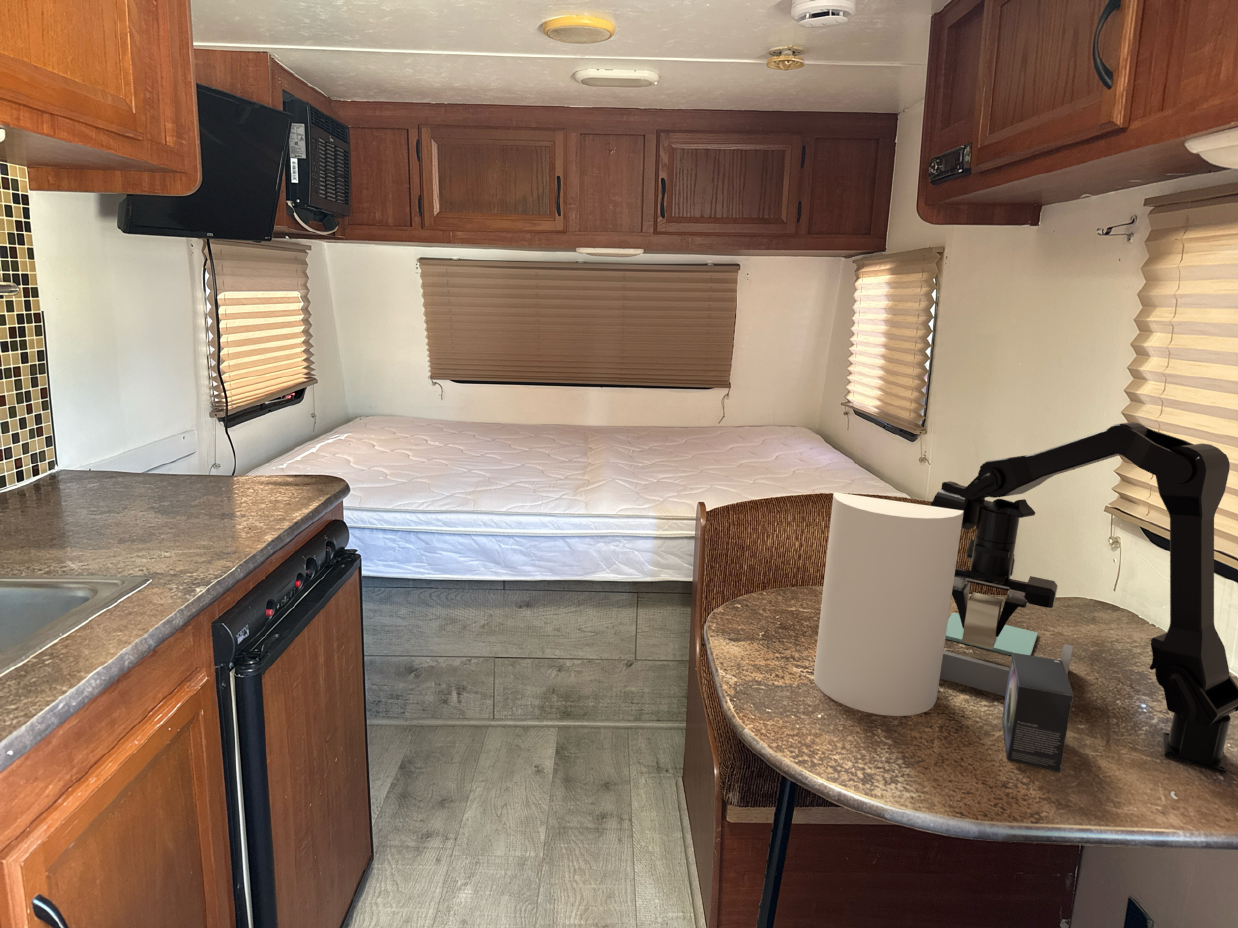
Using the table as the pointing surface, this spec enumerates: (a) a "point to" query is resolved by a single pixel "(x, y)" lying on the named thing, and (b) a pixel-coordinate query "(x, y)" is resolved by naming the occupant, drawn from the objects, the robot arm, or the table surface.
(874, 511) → the cylinder
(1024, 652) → the teal mat
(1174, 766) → the table surface
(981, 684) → the grey l-shaped bracket
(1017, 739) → the small box
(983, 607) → the cream block
